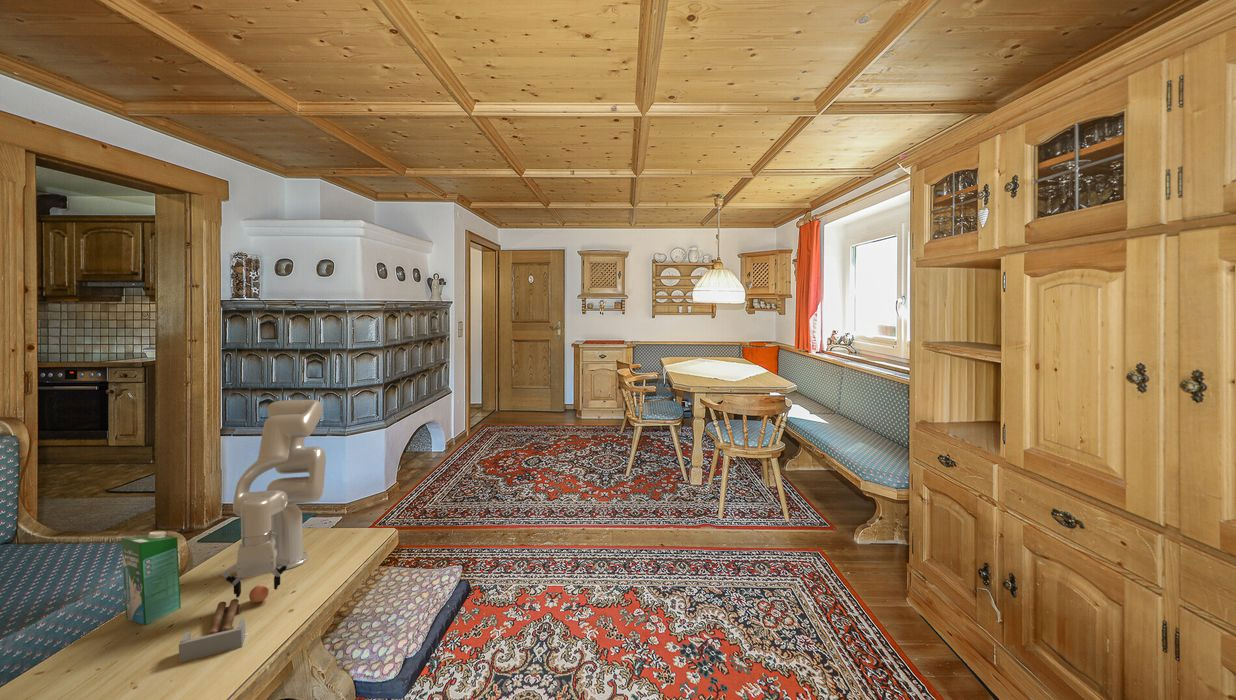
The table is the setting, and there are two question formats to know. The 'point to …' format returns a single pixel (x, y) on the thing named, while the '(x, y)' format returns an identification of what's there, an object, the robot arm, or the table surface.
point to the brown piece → (224, 612)
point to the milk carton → (150, 576)
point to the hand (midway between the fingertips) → (257, 591)
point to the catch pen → (211, 643)
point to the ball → (258, 593)
